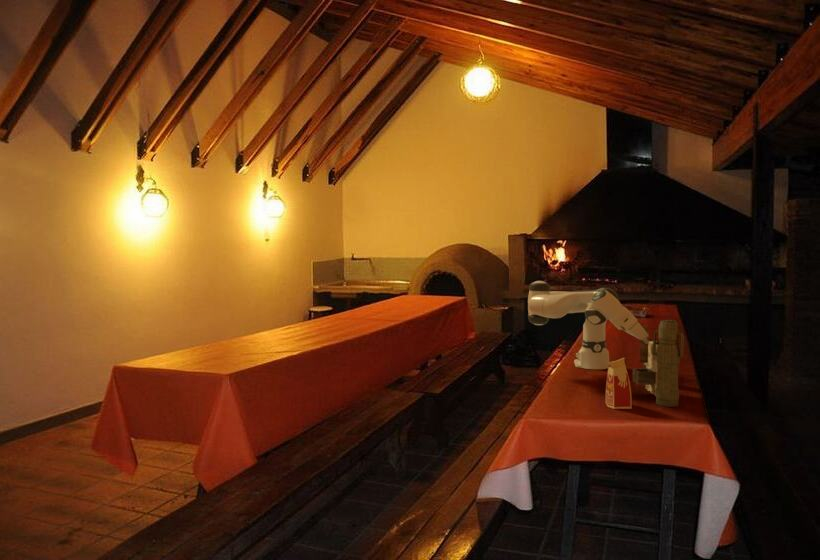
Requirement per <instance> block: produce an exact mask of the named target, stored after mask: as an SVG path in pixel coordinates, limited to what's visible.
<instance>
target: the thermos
mask: <svg viewBox="0 0 820 560" xmlns="http://www.w3.org/2000/svg"><path fill="white" fill-rule="evenodd" d="M657 334H658V339H657ZM652 337H653V355H656V357H657V359H656V361H657V363H658V372H657V388H656V396H655V399H656V400H655V404H656V405H657V406H660V407H667V408H675V407H679V400H680V390H679V364H680V362H681V361H680V360H681V359H682V358H683V357H684V350H685V349H684V346H685V335H684V334H683V332H680V331H679V324H678V321H677V320H675V319H669V318H668V319H666V318H665V319H662V320H660V323H659V324H658V330H655V331H654V332H653V333H652ZM679 337H680V346H679ZM656 340H659V342H658V347H657V352H656ZM655 352H656V353H655Z"/></svg>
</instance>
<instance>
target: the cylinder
mask: <svg viewBox="0 0 820 560" xmlns="http://www.w3.org/2000/svg"><path fill="white" fill-rule="evenodd" d="M640 325H641V326H642V327H643V328H644V329H645V331H646V332H647V333H648V334H649V330H650V329H649V324H648V325H647V324H640ZM647 339H649V336H648V337H647ZM638 342H639V344H638V345H639V347H638V348H639V352H638V362H639V363H643V364H644V363H647V362H648V344H645V343H644V342H643V341H642V340H639V341H638Z"/></svg>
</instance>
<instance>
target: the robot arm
mask: <svg viewBox="0 0 820 560" xmlns="http://www.w3.org/2000/svg"><path fill="white" fill-rule="evenodd" d="M528 287H529V288H528V290H529V292H528V297H527V311H528V314H527V318H528V322H529V323H531V324H533V325H535V326H544V325H547V323H548V322H549V321H550V319H561V318H563V317H564V316H566V315H567V314H575V313H584V316H585V320H584V323H583V324H582V325H583V326H582V330H583V331H582V340H581V347H580V349H579V351H578V352H575V358H577V359H574V360H573V363H574V366H575V367H576V368H579V369H587V370H606V369H608V368H609V364H608V363H607V362H610V354H609V353H610V351H609V350H608V348H607V340H606V324H607V321H609V322H610V323H611V324H612V325H613V326H614V327H615V328H617V330H619V331H620V330H621V331H624V332H625V333H627V334H628V335H631V336H633V337H634V338H636V339H638V340H639V341H640V340H642V341H643V342H644V343H645V344H648V343H649V340H648V339H649V332H648V333H647V332H646V331H645V329H644V328H643V327H642V326H641V325H642V324H641V323H640V322H638V318H637V317H636V316H635V315H634V314H633V313H632V312H631V311H630V310H629V309H628V308H627V307H625V306H623V304H621V301H620V300H619V296H618V293H617V292H616V291H615V290H614V289H612V288H610V287H600V288H598V289H585V290H584V289H581V290H571V291H560V290H559V291H555V290H554V291H551V286H550V284H549V283H548V282H546V281H543V280H536V281H534V282H531V283H530V284H529V286H528ZM647 337H648V339H647Z"/></svg>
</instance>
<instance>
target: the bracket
mask: <svg viewBox="0 0 820 560" xmlns="http://www.w3.org/2000/svg"><path fill="white" fill-rule="evenodd" d="M657 347H658V345H657V344H656V352H657ZM656 352H655V353H656ZM656 359H657V357H656V355H653V342H651V341H649V343H648V362H647V363H646V368H644V367H643V368H641V367H640V368H632V382H634V383H635V384H637V385H638V386H645V390H646V389H647V390H646V391H647V392H649V391H650V393H651V394H652V395H653V396H655V397H656V388H657V372H658V363H657V361H656Z"/></svg>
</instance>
